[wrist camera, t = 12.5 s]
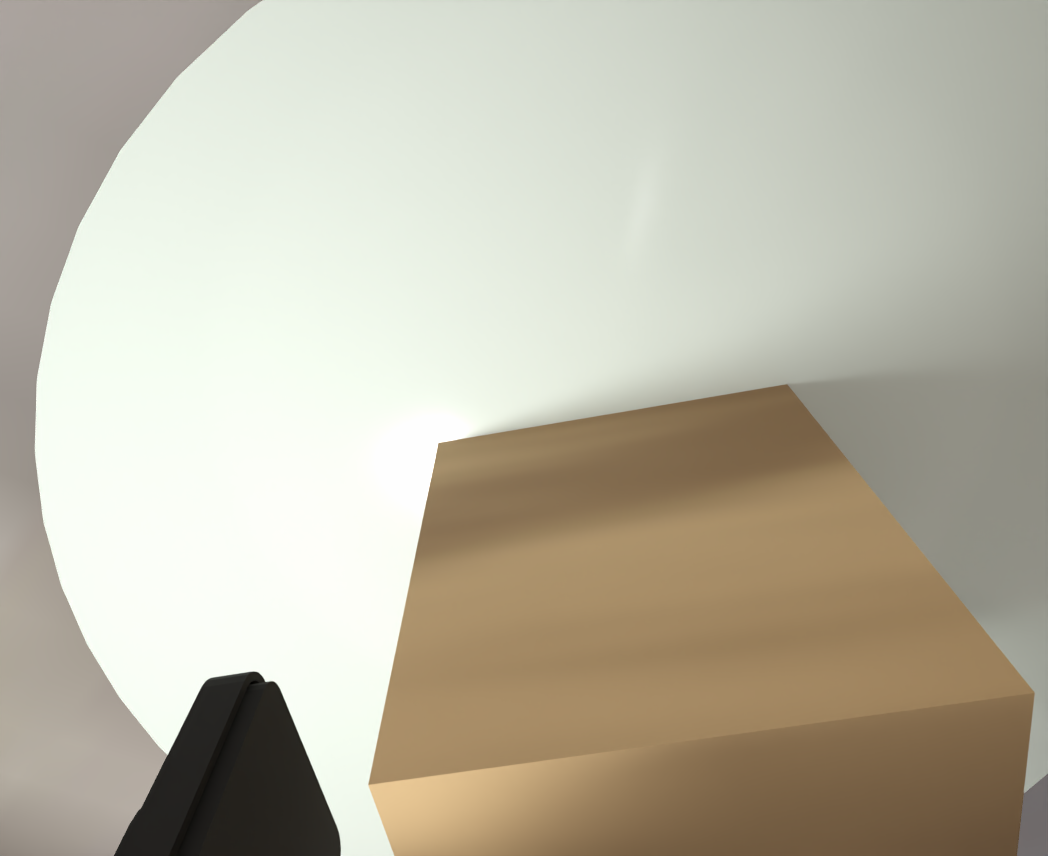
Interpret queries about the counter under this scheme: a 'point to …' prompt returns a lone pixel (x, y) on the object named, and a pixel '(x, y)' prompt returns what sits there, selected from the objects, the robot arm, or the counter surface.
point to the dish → (533, 308)
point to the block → (688, 654)
